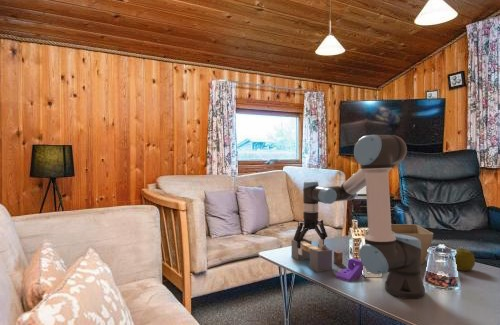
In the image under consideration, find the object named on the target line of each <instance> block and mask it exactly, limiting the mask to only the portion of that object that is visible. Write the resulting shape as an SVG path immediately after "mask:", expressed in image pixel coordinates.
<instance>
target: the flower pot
mask: <svg viewBox="0 0 500 325" xmlns="http://www.w3.org/2000/svg"><path fill="white" fill-rule="evenodd" d="M391 230H392V234H402V235H408V236H412V237H415V238H418V239H419V240H420V241H421V248H422V249H421V265H423V264H425V263H424V262H425V261H426V258H427V257H428V254H429V252H427V249H428V248H429V247H430V248H431V246H432V242H433V238H434V232H432V231H429V230H428V229H426V228H424V227H422V226H421V225H418V224H410V223H409V224H405V223H403V224H402V223H401V224H396V223H395V224H394V223H393V224H392V223H391Z"/></svg>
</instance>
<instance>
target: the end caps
mask: <svg viewBox="0 0 500 325" xmlns="http://www.w3.org/2000/svg"><path fill="white" fill-rule="evenodd" d="M293 239H294V238H293ZM293 239H291V257H292V258H293V259H295V260H296V261H302V260H303V261H304V260H308V259H309V268H310V269H312V270H314V271H315V272H318V273H319V272H323V271H330V270H333V249H331V248H329V247H327V246H326V247H324V246H323V247H322V250H323V251H317V250H315V249H313V248H310V253H309V252H307V251H305V250H303V249H302V255H300V254H298V248H297V242H296V241H294V240H293ZM304 241H305V242H307V243H309V244H311V245H313V244H312V243H313V242H312V240H311V239H309V238H306V237H303V239H302V241H301V242H304Z"/></svg>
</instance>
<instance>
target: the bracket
mask: <svg viewBox="0 0 500 325" xmlns="http://www.w3.org/2000/svg"><path fill="white" fill-rule="evenodd" d="M362 270H363V271H364V266H363V264H362V262H361V260H360V259H357V258H350V259H348V261H347V268H346V267H345V268H343V269H342V270H340V271H338V272H337V273H336V274H335V279H336V278H337V279H340V280H342V281H345V282H347V283H350V282H353V281H354V280H356V279H358V278H360V277H362V276H363V275H362ZM361 275H362V276H361Z"/></svg>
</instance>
